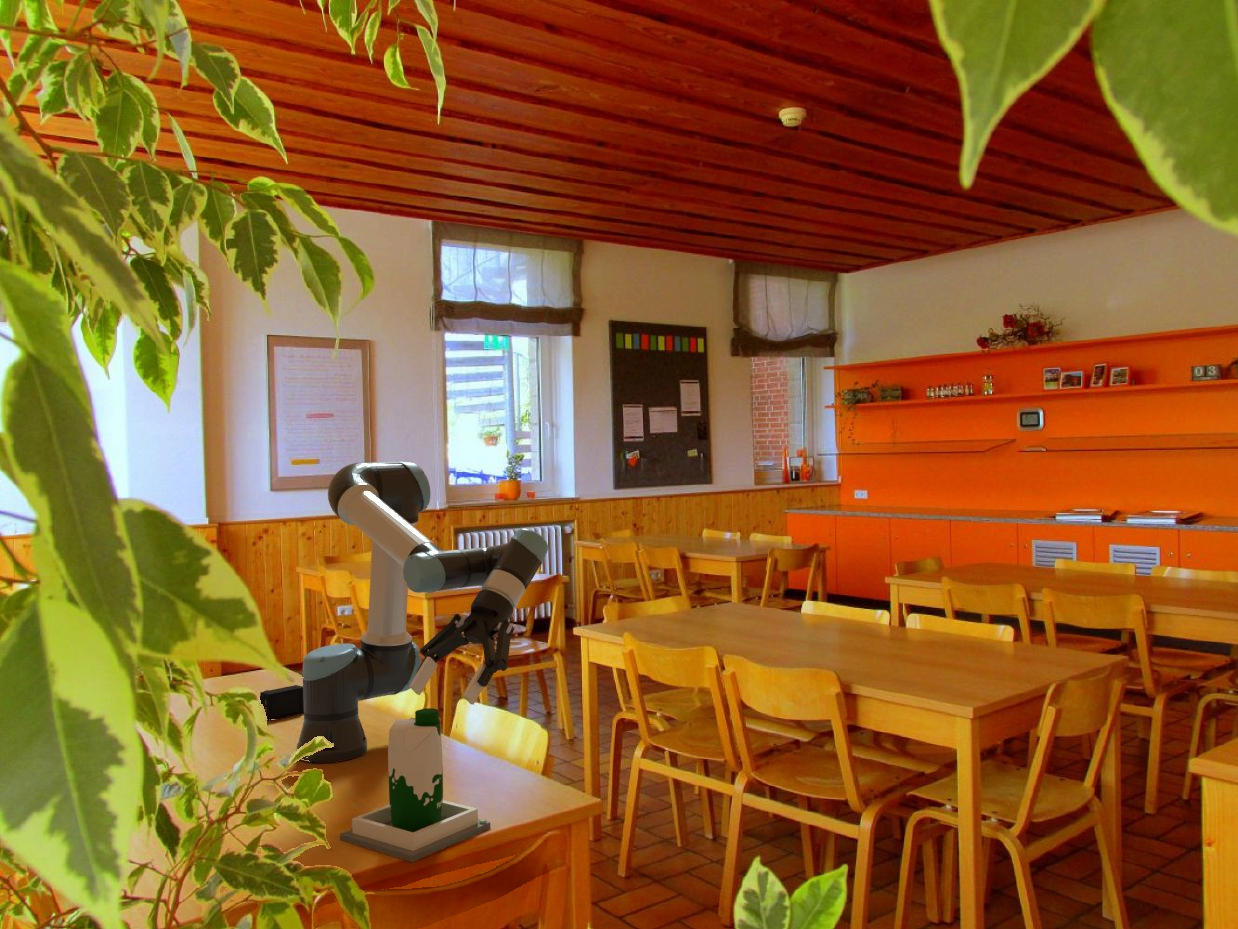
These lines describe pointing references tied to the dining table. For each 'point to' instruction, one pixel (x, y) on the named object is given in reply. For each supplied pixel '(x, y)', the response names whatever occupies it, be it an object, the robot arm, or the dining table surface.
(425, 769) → the soya milk
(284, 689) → the digital camera
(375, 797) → the dining table surface
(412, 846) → the dock
